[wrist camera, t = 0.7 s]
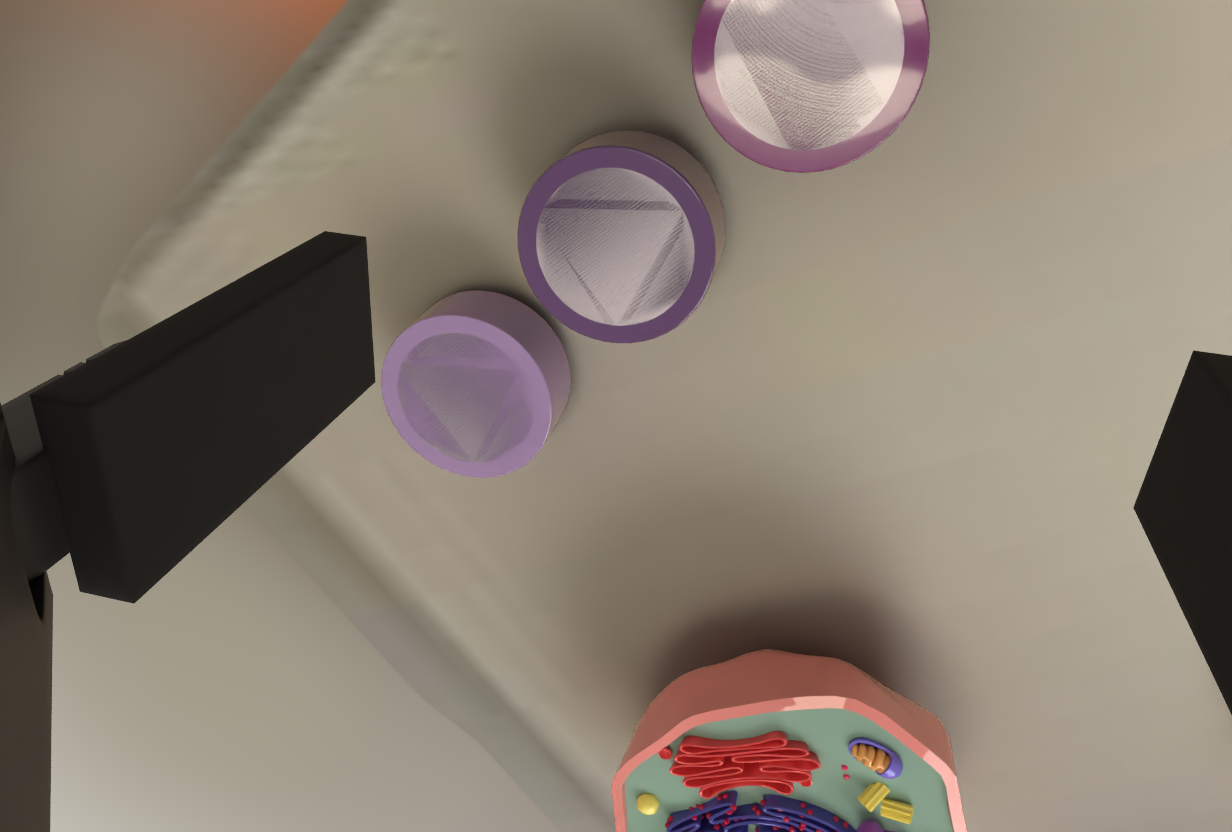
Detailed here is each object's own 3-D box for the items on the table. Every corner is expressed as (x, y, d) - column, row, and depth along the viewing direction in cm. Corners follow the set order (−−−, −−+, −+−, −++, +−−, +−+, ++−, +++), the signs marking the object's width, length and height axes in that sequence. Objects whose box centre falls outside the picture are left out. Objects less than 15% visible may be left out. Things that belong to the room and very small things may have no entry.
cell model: (1042, 679, 46) (1091, 881, 36) (834, 891, 56) (829, 1094, 46) (734, 523, 46) (701, 683, 36) (581, 762, 56) (522, 939, 46)
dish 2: (665, 45, 37) (644, 57, 33) (821, -129, 33) (816, -136, 30) (804, 192, 38) (798, 218, 35) (969, 40, 34) (981, 52, 31)
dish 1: (386, 357, 46) (348, 391, 43) (483, 249, 43) (449, 277, 39) (505, 466, 48) (477, 508, 44) (609, 370, 44) (588, 408, 40)
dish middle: (510, 219, 42) (478, 245, 38) (631, 83, 38) (608, 99, 34) (638, 344, 43) (619, 380, 39) (768, 225, 39) (759, 254, 36)
